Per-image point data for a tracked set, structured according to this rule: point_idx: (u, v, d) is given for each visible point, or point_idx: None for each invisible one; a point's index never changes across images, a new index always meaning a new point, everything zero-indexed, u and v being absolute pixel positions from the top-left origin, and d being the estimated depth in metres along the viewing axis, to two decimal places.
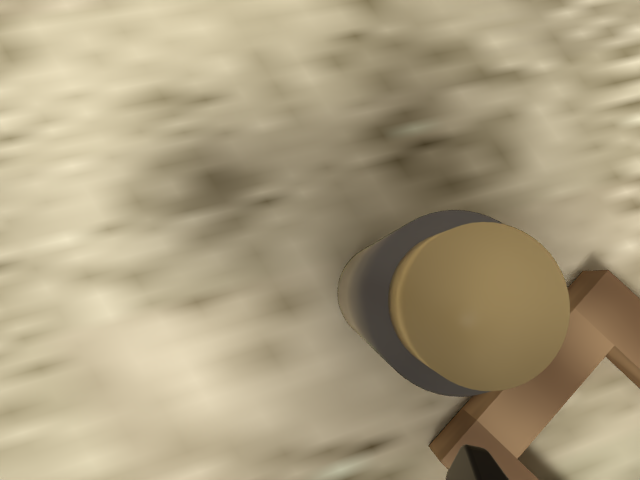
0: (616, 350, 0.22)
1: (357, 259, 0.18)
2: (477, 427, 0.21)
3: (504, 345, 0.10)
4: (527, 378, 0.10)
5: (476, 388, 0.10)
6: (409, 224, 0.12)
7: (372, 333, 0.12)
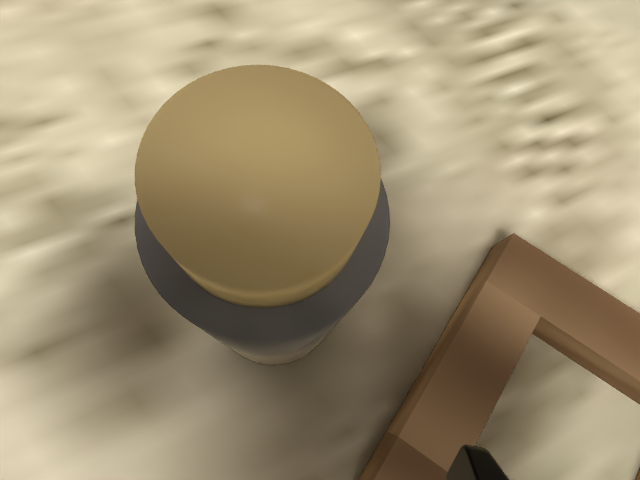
0: (544, 322, 0.18)
1: None
2: (401, 446, 0.16)
3: (292, 217, 0.07)
4: (330, 257, 0.07)
5: (255, 284, 0.07)
6: None
7: (146, 270, 0.08)
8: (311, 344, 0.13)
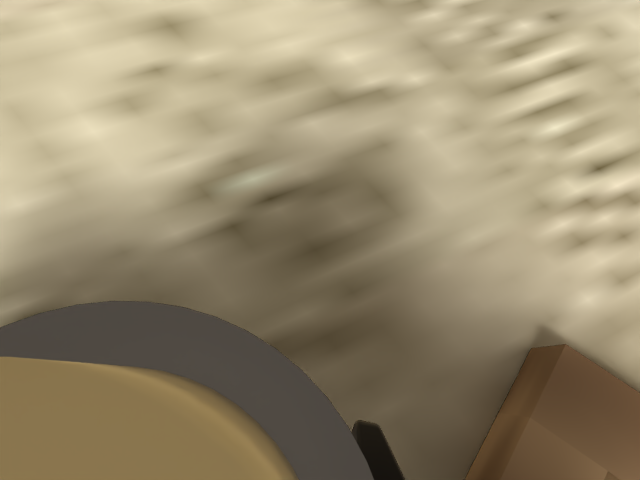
0: (612, 477, 0.13)
1: None
2: None
3: None
4: None
5: None
6: None
7: None
8: None
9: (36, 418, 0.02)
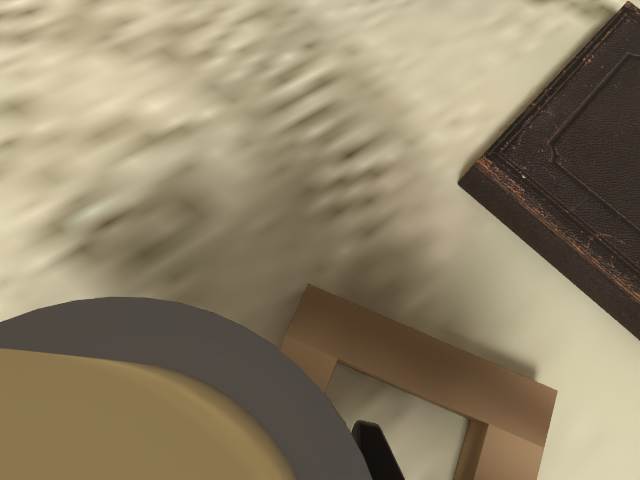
0: (345, 362, 0.20)
1: None
2: None
3: None
4: None
5: None
6: None
7: None
8: None
9: (31, 409, 0.02)
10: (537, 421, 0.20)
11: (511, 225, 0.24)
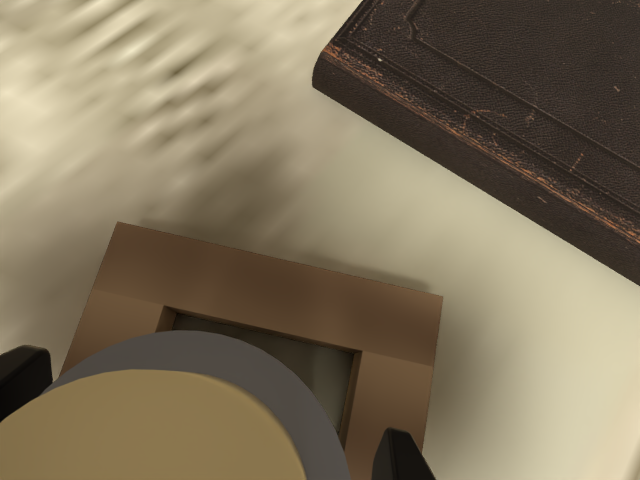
0: (176, 308, 0.16)
1: None
2: None
3: None
4: None
5: None
6: (66, 375, 0.06)
7: None
8: None
9: (168, 398, 0.05)
10: (422, 337, 0.16)
11: (378, 121, 0.20)
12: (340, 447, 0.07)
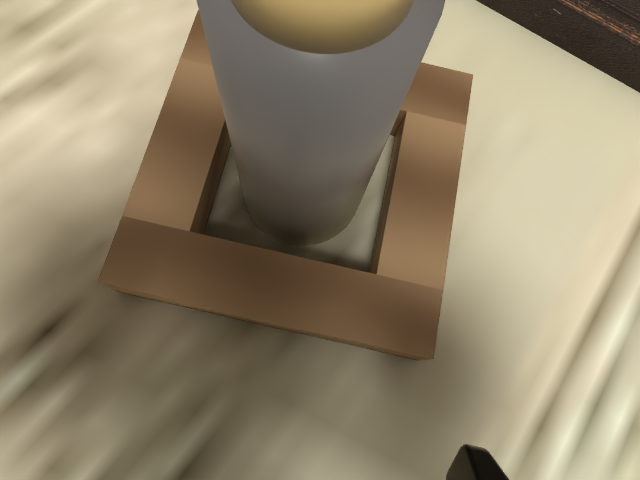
0: None
1: None
2: (127, 223, 0.16)
3: None
4: None
5: None
6: None
7: (206, 18, 0.08)
8: (352, 171, 0.13)
9: None
10: (456, 103, 0.19)
11: None
12: None
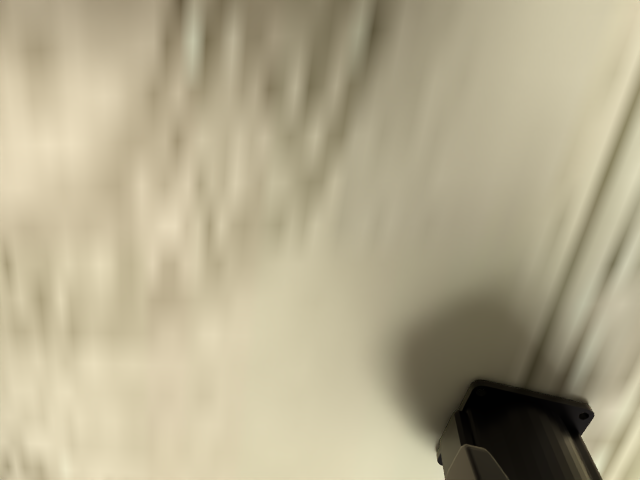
0: None
1: None
2: None
3: None
4: None
5: None
6: None
7: None
8: None
9: None
10: None
11: None
12: None
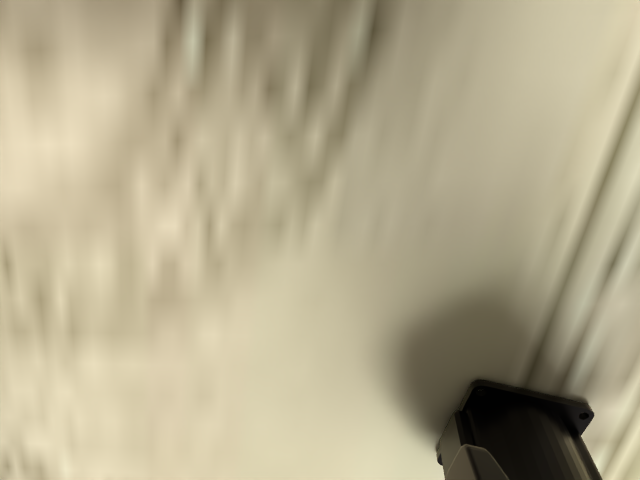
0: None
1: None
2: None
3: None
4: None
5: None
6: None
7: None
8: None
9: None
10: None
11: None
12: None
